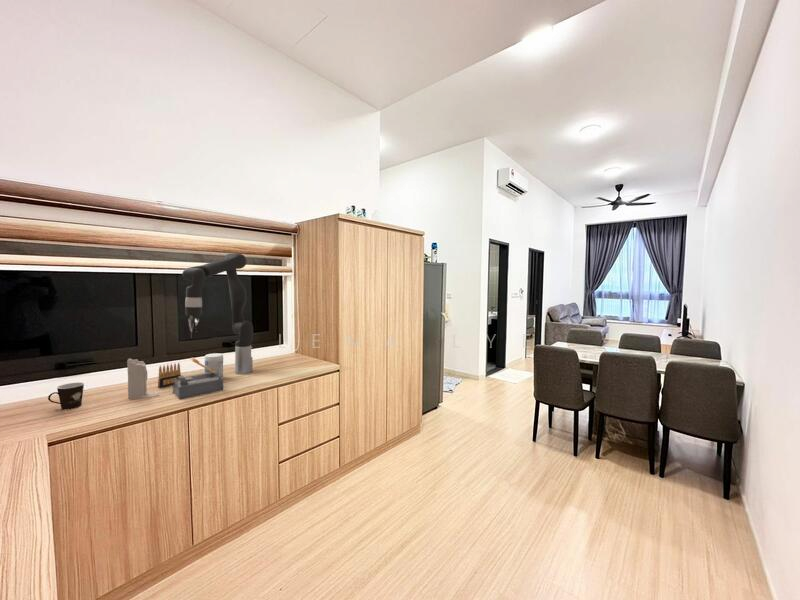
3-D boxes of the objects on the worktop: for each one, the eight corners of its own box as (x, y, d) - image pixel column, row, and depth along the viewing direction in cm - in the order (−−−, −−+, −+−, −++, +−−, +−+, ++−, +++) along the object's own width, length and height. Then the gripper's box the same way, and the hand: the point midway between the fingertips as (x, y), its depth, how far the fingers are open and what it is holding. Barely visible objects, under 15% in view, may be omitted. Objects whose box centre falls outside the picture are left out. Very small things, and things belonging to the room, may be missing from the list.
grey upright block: (161, 396, 165) (161, 357, 163) (126, 400, 158) (125, 359, 157) (163, 391, 171) (163, 354, 170) (130, 395, 164) (129, 356, 163)
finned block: (215, 383, 185) (215, 367, 184) (223, 390, 175) (223, 373, 175) (172, 391, 171) (172, 374, 170) (179, 399, 161) (178, 381, 160)
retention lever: (213, 373, 180) (215, 370, 180) (216, 374, 177) (218, 372, 177) (190, 359, 171) (192, 357, 172) (192, 361, 168) (194, 358, 169)
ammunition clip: (159, 388, 176) (158, 366, 175) (157, 387, 177) (157, 365, 176) (181, 383, 185) (181, 362, 184) (180, 382, 186) (179, 361, 185)
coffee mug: (83, 401, 155) (82, 381, 154) (86, 406, 149) (85, 385, 148) (47, 409, 146) (46, 387, 145) (48, 414, 140) (47, 391, 139)
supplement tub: (201, 381, 188) (200, 356, 187) (210, 376, 197) (210, 352, 196) (217, 382, 188) (217, 357, 187) (226, 377, 198) (226, 353, 197)
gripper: (205, 306, 169) (204, 339, 170) (198, 304, 178) (198, 336, 179) (188, 307, 164) (188, 341, 165) (182, 305, 173) (182, 337, 174)
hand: (193, 338), depth 172 cm, fingers closed
